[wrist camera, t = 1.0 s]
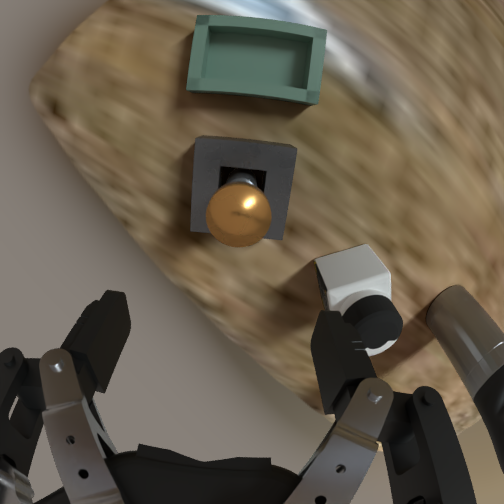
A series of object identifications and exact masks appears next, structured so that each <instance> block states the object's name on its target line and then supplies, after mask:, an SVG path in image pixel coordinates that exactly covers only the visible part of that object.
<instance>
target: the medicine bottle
mask: <svg viewBox="0 0 504 504" xmlns="http://www.w3.org/2000/svg"><path fill="white" fill-rule="evenodd" d="M314 265H315V270H316V274H317V279H318V284H319V288H320V293H321V298H322V303H323V306H324V308H325V310H330V311H340V313H341V315H342V317H343V320H344V322H345V323H351V325H352V326H353V327H354V328H355V329H356V330H357V331H358V332H359V335H360V337H361V339H362V343H363V344H364V346H365V350H366V351H367V354H368V356H372V355H376V354H379V353H381V352H383V351H385V350H386V349H388V348H389V347H390V346H391V345H393V344H394V343H395V341H396V340H397V339H398V337H399V336H400V333H401V331H402V327H403V320H402V318H401V316H400V314H399V313H398V311H397V310H396V308H395V306H394V305H393V303H392V302H391V274H390V272H389V270H388V269H387V268H386V266H385V265H384V264H383V263H382V261H381V260H380V259H379V258H378V256H377V255H376V254H375V253H374V251H373V250H372V249H371V248H370V247H369V245H367V244H363V245H360V246H357V247H353V248H350V249H347V250H343V251H340V252H337V253H333V254H330V255H326V256H323V257H319V258H316V259H315V260H314Z"/></svg>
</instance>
